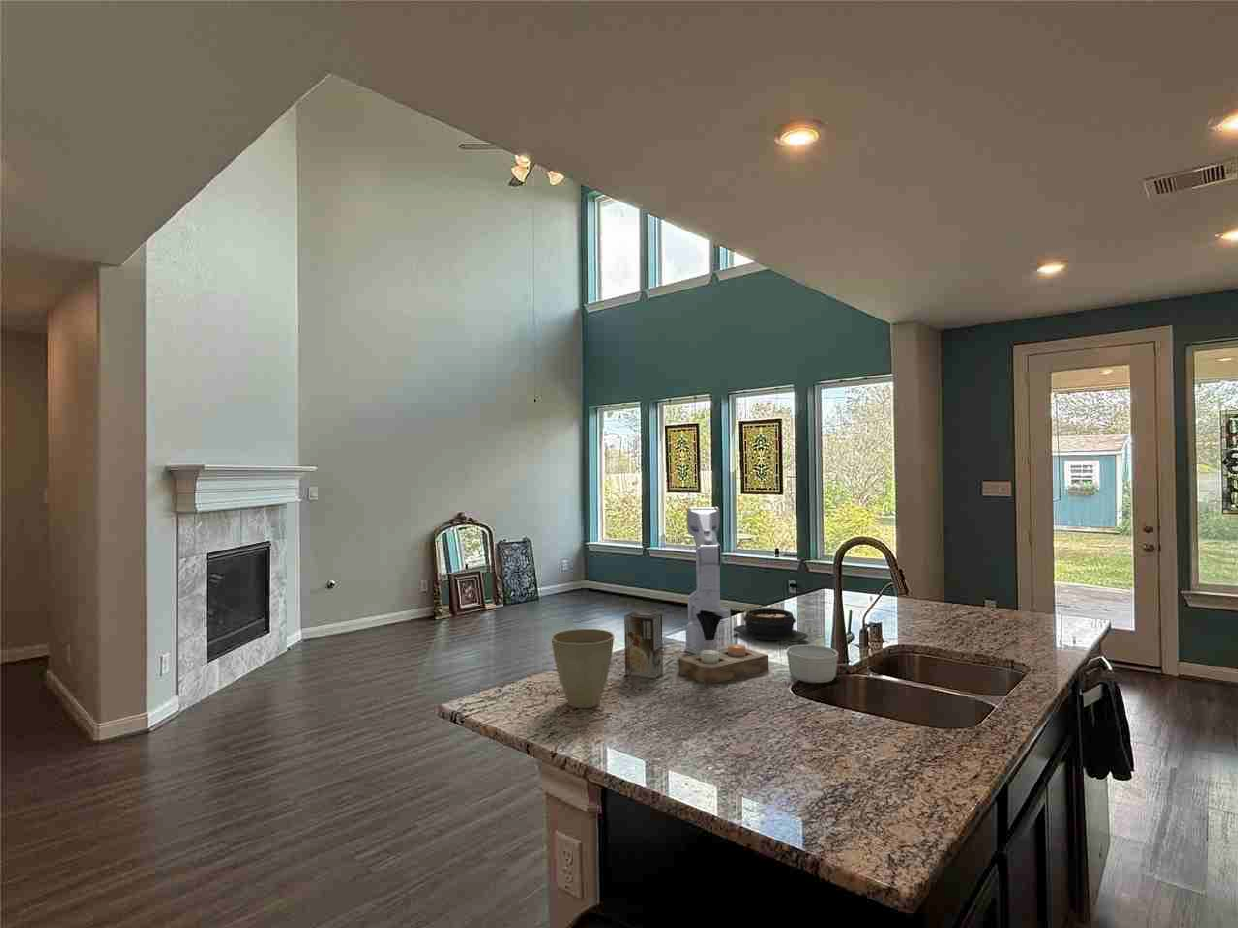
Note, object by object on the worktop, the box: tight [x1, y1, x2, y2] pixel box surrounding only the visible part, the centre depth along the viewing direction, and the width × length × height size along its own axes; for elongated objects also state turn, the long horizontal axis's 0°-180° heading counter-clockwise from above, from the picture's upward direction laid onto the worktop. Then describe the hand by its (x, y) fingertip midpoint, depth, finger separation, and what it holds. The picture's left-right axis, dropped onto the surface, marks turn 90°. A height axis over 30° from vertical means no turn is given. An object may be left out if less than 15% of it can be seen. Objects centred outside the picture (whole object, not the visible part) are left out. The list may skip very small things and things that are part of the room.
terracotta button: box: [727, 643, 747, 658], centre depth 181 cm, size 5×5×4 cm
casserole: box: [732, 607, 808, 643], centre depth 214 cm, size 25×19×8 cm
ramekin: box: [786, 644, 839, 684], centre depth 173 cm, size 13×13×7 cm
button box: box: [677, 647, 769, 685], centre depth 178 cm, size 12×22×4 cm, turn 124°
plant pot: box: [550, 628, 615, 709], centre depth 155 cm, size 15×15×16 cm
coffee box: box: [623, 610, 664, 680], centre depth 177 cm, size 9×6×16 cm
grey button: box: [701, 650, 719, 664], centre depth 176 cm, size 5×5×4 cm
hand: (709, 639), depth 176 cm, fingers closed
